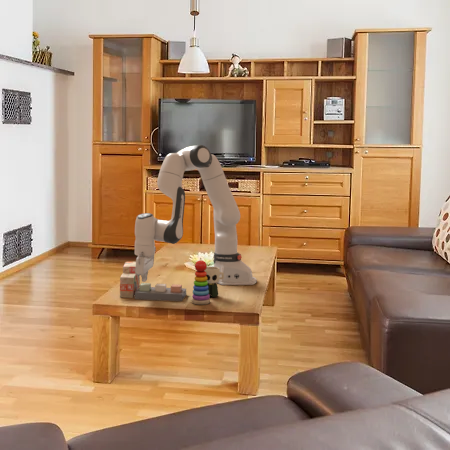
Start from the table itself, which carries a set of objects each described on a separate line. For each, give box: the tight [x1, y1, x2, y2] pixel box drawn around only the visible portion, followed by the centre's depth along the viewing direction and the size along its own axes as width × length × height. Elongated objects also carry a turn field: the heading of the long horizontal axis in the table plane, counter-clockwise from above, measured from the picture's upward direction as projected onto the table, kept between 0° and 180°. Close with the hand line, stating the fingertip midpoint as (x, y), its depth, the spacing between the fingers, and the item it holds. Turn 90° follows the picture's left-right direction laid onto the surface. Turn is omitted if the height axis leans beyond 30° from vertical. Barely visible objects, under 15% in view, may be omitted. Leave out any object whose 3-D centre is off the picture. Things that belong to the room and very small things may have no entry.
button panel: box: [134, 286, 187, 302], centre depth 300 cm, size 21×11×3 cm, turn 84°
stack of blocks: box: [119, 261, 141, 299], centre depth 308 cm, size 21×6×12 cm, turn 0°
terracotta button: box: [170, 283, 183, 293], centre depth 299 cm, size 4×4×3 cm
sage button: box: [139, 282, 152, 291], centre depth 301 cm, size 4×4×3 cm
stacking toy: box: [191, 259, 211, 306], centre depth 290 cm, size 8×8×19 cm
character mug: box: [205, 266, 224, 298], centre depth 302 cm, size 11×7×13 cm, turn 88°
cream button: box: [154, 283, 167, 292], centre depth 300 cm, size 4×4×3 cm
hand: (144, 281), depth 300 cm, fingers closed
